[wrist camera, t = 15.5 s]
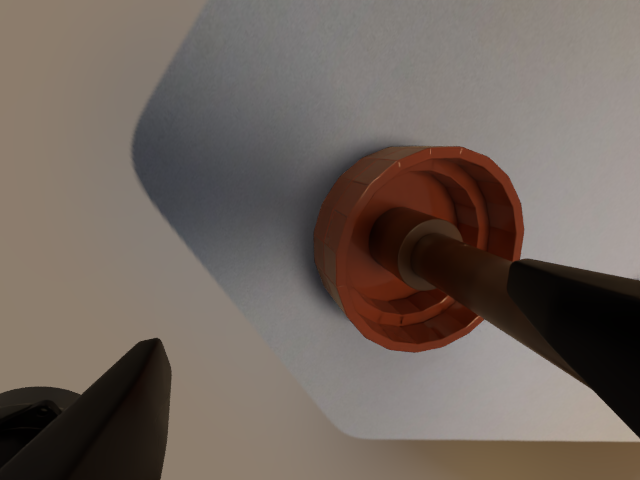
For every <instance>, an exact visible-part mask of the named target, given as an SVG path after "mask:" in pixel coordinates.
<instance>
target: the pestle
mask: <svg viewBox="0 0 640 480" xmlns="http://www.w3.org/2000/svg"><path fill="white" fill-rule="evenodd" d="M369 249H370V253H371V255H372V257H373V258H374V260H375V261H376V262H377V263H378V264H379V265H381V266H382V267H384V268H385V269H386V270H388V271H389V272H390V273H392V274H393V275H394V276H396V277H397V278H398V279H400V280H401V281H403V282H404V283H405V284H407V285H408V286H409V287H411V288H413V289H416V290H421V291H428V290H433V289H436V288H437V289H439V290H441V291H442V292H444V293H445V294H447V295H448V296H450V297H451V298H453V299H454V300H456V301H457V302H459V303H460V304H462V305H464V306H465V307H467V308H468V309H470V310H471V311H473V312H474V313H476V314H477V315H479V316H480V317H482V318H483V319H485V320H487V321H488V322H490V323H491V324H493V325H494V326H496V327H497V328H499V329H500V330H502V331H503V332H505V333H506V334H508V335H510V336H511V337H513V338H514V339H516V340H517V341H519V342H520V343H522V344H523V345H525V346H526V347H528V348H529V349H531V350H533V351H534V352H536V353H537V354H539V355H540V356H542V357H543V358H545V359H546V360H548V361H549V362H551V363H552V364H554V365H556V366H557V367H559V368H560V369H562V370H563V371H565V372H566V373H568V374H569V375H571V376H572V377H574V378H575V379H577V380H578V381H580V382H582V383H583V384H585V385H586V386H588V385H587V384H586V382H585V381H584V380H583V379H582V378H581V377H580V376H579V375H578V374H577V373H576V372H575V371H574V370H573V369H572V368H571V367H570V366H569V365H568V364H567V363H566V362H565V361H564V360H563V359H562V358H561V357H560V356H559V355H558V354H557V353H556V352H555V351H554V350H553V349H552V347H551V346H550V345H549V344H548V343H547V342H546V341H545V340H544V339H543V337H542V336H541V335H540V334H539V333H538V331H537V330H536V329H535V328H534V327H533V325H532V324H531V323H530V322H529V320H528V319H527V318H526V317H525V316H524V314H523V313H522V312H521V311H520V309H519V308H518V307H517V306H516V304H515V303H514V302H513V301H512V300H511V298H510V297H509V295H508V293H507V289H506V286H507V280H508V274H509V267H510V265H511V263H512V262H511V261H509V260H506V259H504V258H501V257H499V256H496V255H494V254H491V253H489V252H486V251H484V250H481V249H479V248H476V247H474V246H471V245H469V244H466V243H464V242H463V240H462V236H461V234H460V232H459V230H458V229H457V228H456V227H455V226H454V225H453V224H452V223H450V222H449V221H446V220H443V219H440V218H437V217H434V216H431V215H428V214H425V213H422V212H419V211H416V210H413V209H410V208H406V207H396V208H393V209H390V210H388V211H386V212H385V213H383V214H382V215H381V216H380V217H379V218H378V219H377V220H376V222H375V223H374V225H373V227H372V229H371V231H370V235H369ZM588 387H589V386H588ZM589 388H590V387H589Z"/></svg>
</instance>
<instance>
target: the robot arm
mask: <svg viewBox="0 0 640 480" xmlns="http://www.w3.org/2000/svg"><path fill="white" fill-rule="evenodd" d="M506 289H507V293H508V295H509V297H510V298H511V300H512V301H513V302H514V303H515V304H516V306H517V307H518V308H519V309H520V311H521V312H522V313H523V314H524V316H525V317H526V318H527V319H528V320H529V322H530V323H531V324H532V325H533V327H534V328H535V329H536V330H537V331H538V333H539V334H540V335H541V336H542V337H543V339H544V340H545V341H546V342H547V343H548V344H549V345H550V346H551V347H552V349H553V350H554V351H555V352H556V353H557V354H558V355H559V356H560V357H561V358H562V359H563V360H564V361H565V362H566V363H567V364H568V365H569V366H570V367H571V368H572V369H573V370H574V371H575V372H576V373H577V374H578V375H579V376H580V377H581V378H582V379H583V380H584V381H585V382H586V384H587V385H588V386H589V387H590V388H591V389H592V390H593V391H594V392H595V393H596V394H597V395H598V396H599V397H600V398H601V399H602V400H603V401H604V402H605V403H606V404H607V405H608V406H609V407H610V408H611V409H612V410H613V411H614V412H615V413H616V414H617V415H618V416H619V417H620V418H621V419H622V421H623V422H624V423H625V424H626V425H627V426H628V427H629V428H630V429H631V430H632V431H633V432H634V433H635V434H636V435H637V436H638V437H639V438H640V281H639V280H634V279H629V278H624V277H619V276H614V275H609V274H604V273H599V272H594V271H589V270H584V269H579V268H574V267H569V266H564V265H559V264H553V263H548V262H543V261H538V260H533V259H521V260H517V261H514V262H512V263H511V265H510V267H509V274H508V280H507V286H506ZM171 376H172V375H171V366H170V363H169V360H168V357H167V355H166V352H165V349H164V346H163V344H162V342H161V340H160V339H158V338H153V339H149V340H144V341H140V342H138V343H137V344H136V345H135V346H134V347H133V348H132V349H131V350H129V351H128V352H127V353H126V354H125V355H124V356H123V357H122V358H121V359H120V360H119V361H118V362H116V363H115V364H114V365H113V366H112V367H111V368H110V369H109V370H108V371H107V372H105V373H104V374H103V375H102V376H101V377H100V378H99V379H98V380H97V381H96V382H95V383H94V384H92V385H91V386H90V387H89V388H88V389H87V390H86V391H85V392H84V393H83V394H82V395H80V396H79V397H78V398H77V399H76V400H75V401H74V402H73V403H72V404H71V405H70V406H68V407H67V408H66V409H65V410H64V411H63V412H62V411H61V410H60V408H59V407H58V406H57V405H56V403H54V402H53V401H51V400H42V401H39V402H37V403H35V404H32V405H30V406H28V407H26V408H24V409H21V410H19V411H17V412H15V413H13V414H10V415H8V416H6V417H4V418H1V419H0V480H160V479H161V473H162V467H163V462H164V456H165V451H166V444H167V435H168V420H169V406H170V391H171ZM41 409H46V410H48V411H43V410H41Z"/></svg>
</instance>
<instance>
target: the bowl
mask: <svg viewBox="0 0 640 480" xmlns="http://www.w3.org/2000/svg"><path fill="white" fill-rule="evenodd" d="M396 207H406V208H410V209H413V210H416V211H419V212H422V213H425V214H428V215H431V216H434V217H437V218H440V219H443V220H446V221H449V222H450V223H452V224H453V225H454V226H455V227H456V228H457V229H458V230H459V232H460V234H461V236H462V240H463V242H464V243H466V244H469V245H471V246H474V247H476V248H479V249H481V250H484V251H486V252H489V253H491V254H494V255H496V256H499V257H501V258H504V259H506V260H509V261H511V262H514V261H517V260H520V256H521V249H522V243H523V236H524V224H523V215H522V207H521V202H520V200H519V198H518V195H517V193H516V191H515V189H514V187H513V185H512V183H511V180H510V178H509V176H508V175H507V174H506V173H505V172H504V171H503V170H502V169H501V168H499V167H498V166H497V165H496V164H495V163H494V162H493V161H492V160H491V159H490V158H489V157H487V156H485V155H482V154H479V153H477V152H474V151H472V150H469V149H466V148H464V147H460V146H398V147H388V148H385V149H383V150H380V151H378V152H375V153H373V154H370V155H368V156H365V157H363V158H361V159H360V160H359V161H358V162H357V163H355V164H354V165H353V166H352V167H351V168H349V169H348V170H347V171H346V172H345V173H343V174H342V175H341V176H340V178H338V180H337V181H336V183H335V184H334V186H333V187H332V189H331V191H330V192H329V194H328V195H327V197H326V198H325V200H324V201H323V204H322V205H321V209H320V212H319V216H318V219H317V223H316V226H315V230H314V261H315V264H316V267H317V270H318V272H319V275H320V278H321V280H322V283H323V286H324V287H325V289H326V290H327V291H328V293H329V294H330V295H331V297H332V298H333V299H334V300H335V302H336V303H337V304H338V306H339V307H340V308H341V310H342V311H343V312H344V314H345V315H346V316H347V318H348V319H349V320H350V321H351V322H352V323H353V324H354V326H355V327H356V328H357V329H358V330H359V331H360V332H361V334H362V335H363V336H364V337H365V338H367V339H369V340H371V341H373V342H375V343H377V344H379V345H381V346H383V347H384V348H386V349H389V350H396V351H405V352H414V353H415V352H422V351H426V350H431V349H436V348H440V347H444V346H446V345H448V344H450V343H451V342H453V341H455V340H457V339H459V338H461V337H463V336H465V335H467V334H468V333H470V332H471V331H472V330H473V329H474V328H475V327H476V326H478V325H479V324H480V323H481V322H482V321H483V320H484V319H483V318H482V317H480V316H479V315H477V314H476V313H474V312H473V311H471V310H470V309H468V308H467V307H465V306H464V305H462V304H460V303H459V302H457V301H456V300H454V299H453V298H451V297H450V296H448V295H447V294H445V293H444V292H442V291H441V290H439V289H437V288H436V289H433V290H428V291H421V290H416V289H413V288H411V287H409V286H408V285H407V284H405V283H404V282H403V281H401V280H400V279H398V278H397V277H396V276H394V275H393V274H392V273H390V272H389V271H388V270H386V269H385V268H384V267H382V266H381V265H379V264H378V263H377V262H376V261H375V260H374V258H373V257H372V255H371V253H370V249H369V235H370V231H371V229H372V227H373V225H374V223H375V222H376V220H377V219H378V218H379V217H380V216H381V215H382V214H383V213H385V212H386V211H388V210H390V209H393V208H396Z"/></svg>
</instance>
